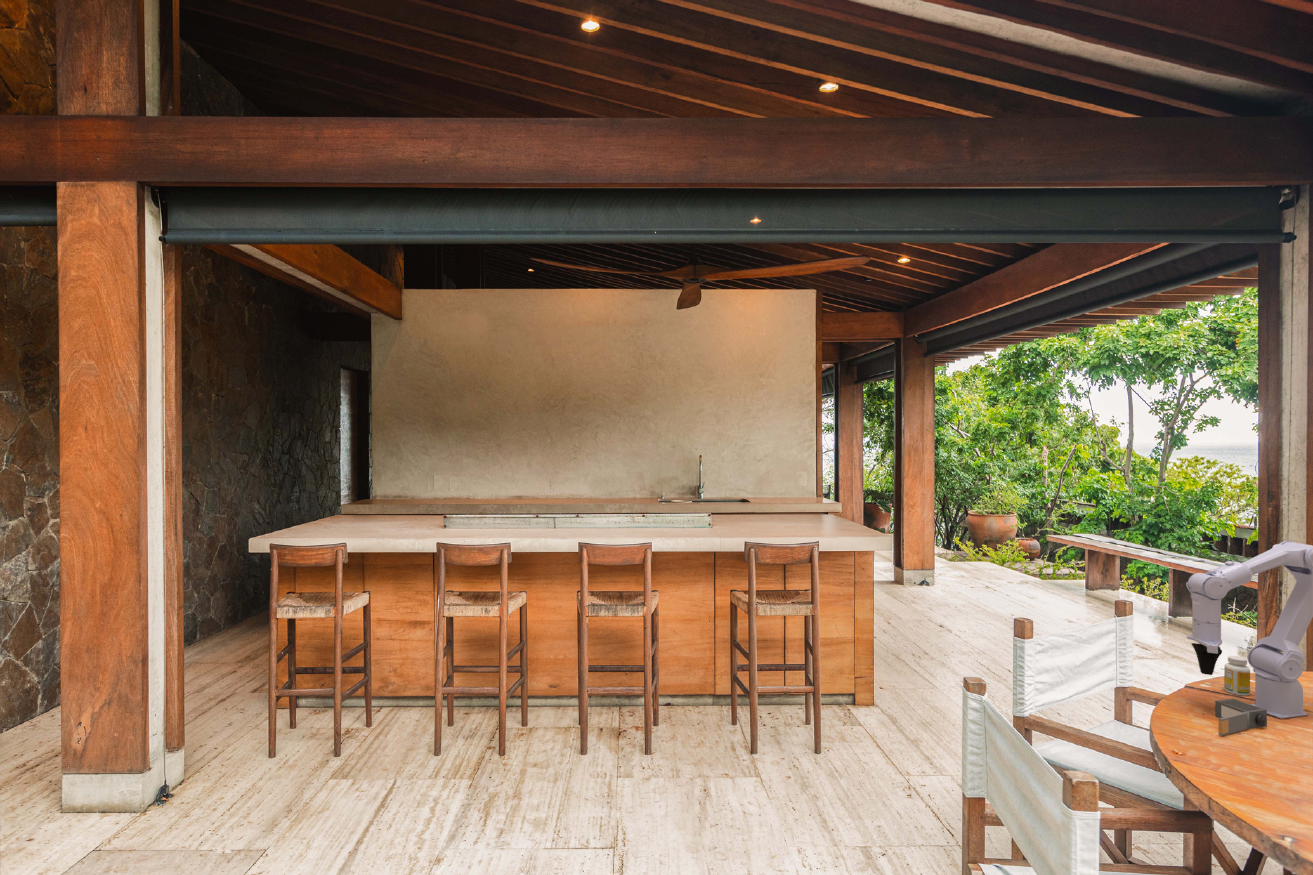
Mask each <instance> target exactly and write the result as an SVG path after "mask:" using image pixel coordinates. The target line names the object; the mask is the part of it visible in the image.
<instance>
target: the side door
mask: <svg viewBox="0 0 1313 875" xmlns="http://www.w3.org/2000/svg"><path fill="white" fill-rule="evenodd" d="M1217 729H1218V730H1217V731H1218V732H1217V733H1218V736H1226V735H1229V734H1230V735H1231V734H1233V733H1237V732H1241V731H1244V730H1250V729H1249V712H1243V713H1239V714H1235V715H1231V716H1227V717H1223V718H1218V728H1217Z"/></svg>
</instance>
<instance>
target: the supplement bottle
mask: <svg viewBox="0 0 1313 875" xmlns="http://www.w3.org/2000/svg"><path fill="white" fill-rule="evenodd" d="M1247 665H1248V660H1247V657H1246V658H1245V657H1242V656H1238V655H1228V656H1227V663H1225V664H1224V669H1223V670H1224V673H1223V674H1224V676H1223V680H1224V682H1223V683H1224V684H1223V689H1224V691H1225V692H1227V693H1229V694H1231V695H1236V696H1243V697H1244V696H1245V697H1247V696H1249V695H1250V694H1251V669H1250V668H1249V667H1248V666H1247Z"/></svg>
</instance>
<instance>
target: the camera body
mask: <svg viewBox="0 0 1313 875" xmlns="http://www.w3.org/2000/svg"><path fill="white" fill-rule="evenodd" d="M1251 704H1252V703H1248V702H1244V701H1242V700H1240V699H1236V698H1233V697H1232V698H1226V699H1225V698H1224V699H1218V700H1214V707H1215V708H1214V711H1215V712H1214V715H1215V716H1216V717H1215V718H1218V719H1219V718H1223V717H1227V716H1231V715H1235V714H1239V713H1243V712H1249V729H1248V730H1251V729H1252V730H1253V729H1258V728H1259V729H1260V728H1264V727H1265V728H1266V727H1268V714H1267V710H1265V709H1262V708H1260V707H1257V706H1254V705H1251Z"/></svg>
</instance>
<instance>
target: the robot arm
mask: <svg viewBox="0 0 1313 875" xmlns="http://www.w3.org/2000/svg"><path fill="white" fill-rule="evenodd" d="M1280 566H1283V568H1285V570H1287V571H1288V572H1289V573H1290V574H1291V575H1292V576H1293V578H1294V579H1295V581H1296V582H1295V584H1294V586H1293V588H1292V590H1291V592H1290V595H1289V597H1288V599H1287V601H1286V603H1285V605H1284V607H1283V609H1282V611H1281V613H1280V615H1279V617H1278V618H1277V621H1276V623H1275V624H1274V627H1273V629H1272V631H1271V633H1270V634H1269V635H1268V636H1266V637H1263V638H1260V639H1258V640H1257V643H1256V644H1255V645H1254V646H1253V647H1251V648H1250V649H1249V651H1248V652H1247V657H1246V659H1247V663H1248V664H1249V665H1250V667H1252V668H1253V670H1252V671H1253V673H1254V674H1255V675H1254V676H1255V678H1254V679H1255V680H1254V681H1255V682H1254V684H1255V685H1254V686H1255V690H1254V691H1255V693H1254V694H1255V699H1254V703H1250V704H1251V705H1254V706H1257V707H1260V708H1262V709H1265V710H1267V715H1268V716H1272V717H1274V718H1278V719H1281V720H1282V719H1290V718H1295V717H1304V716H1308V713H1307V712H1305V711H1304V687H1303V686H1302V684H1301V682H1300V681H1299V678H1300V677H1301V675H1302V674H1303V671H1304V670H1303V665H1304V664H1303V663H1304V661H1305V658H1306V657H1305V655H1304V654H1303V652H1302V651H1301V650H1300V648H1299V646H1300V644H1301V642H1302V640H1303V638H1304V636H1305V634H1306V632H1307V629H1308V628H1309V625H1310V624H1311V622H1312V619H1313V545H1311V544H1306V543H1300V542H1299V543H1298V542H1294V541H1292V540H1284V541H1282V542H1280V543H1276V544H1274V545H1273V544H1272V548H1271V549H1269V550H1266V551H1264V552H1262V553H1260V554H1258V555H1256V556H1254V557H1252V558H1250V559H1248V560H1245V561H1244V562H1239V561H1235V560H1234V561H1231V560H1227V561H1225V562H1224V565H1222V566H1218V567H1216V568H1214V569H1212V568H1210V569H1208V570H1207V571H1206V572H1205V573H1203V572H1196V573H1193V574H1191V576H1190V577H1189V578H1188V580H1187V582H1186V583H1185V586H1186V588H1187V590H1188V591H1189V593H1190V598H1191V601H1192V603H1191V604H1192V606H1191V608H1192V611H1191V612H1192V616H1191V618H1192V620H1191V622H1192V623H1191V624H1192V626H1191V627H1192V628H1191V629H1192V630H1191V631H1192V634H1186V639H1187V640H1192V641H1194V642H1191V646H1192V648H1193V650H1194V651H1195V655H1196V658H1197V662H1198V666H1199V670H1200V674H1203V675H1209V676H1213V674H1214V671H1215V668H1216V664H1217V661H1218V660H1219V657H1220V656H1221V655H1222V653H1223V650H1222V648H1221V647H1220V646H1221V645H1223V639H1222V599H1223V598H1225V597H1226V596H1227V593H1228V592H1229V591H1231V590H1232V589H1235V588H1239V587H1240V586H1242V585H1245V584H1248V583H1249V582H1251V581H1252V578H1253V576H1254V575H1257V574H1261V573H1262V572H1266V571H1269V570H1271V569H1272V570H1273V569H1275V568H1278V567H1280Z"/></svg>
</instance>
